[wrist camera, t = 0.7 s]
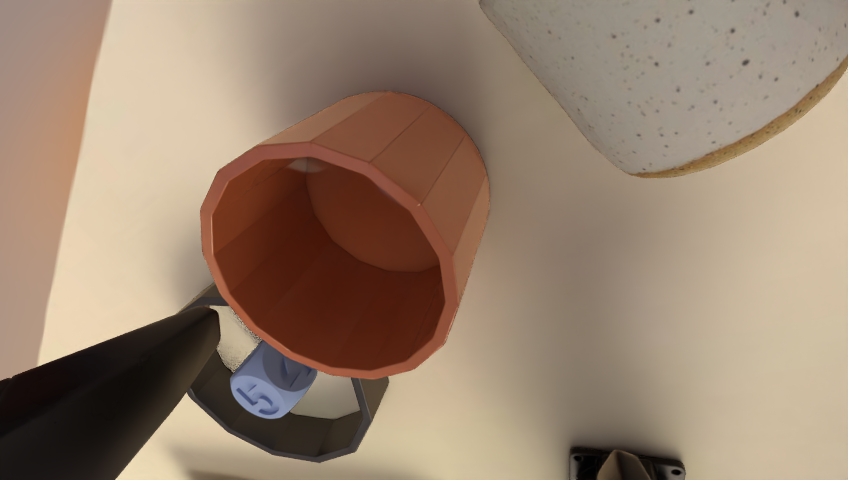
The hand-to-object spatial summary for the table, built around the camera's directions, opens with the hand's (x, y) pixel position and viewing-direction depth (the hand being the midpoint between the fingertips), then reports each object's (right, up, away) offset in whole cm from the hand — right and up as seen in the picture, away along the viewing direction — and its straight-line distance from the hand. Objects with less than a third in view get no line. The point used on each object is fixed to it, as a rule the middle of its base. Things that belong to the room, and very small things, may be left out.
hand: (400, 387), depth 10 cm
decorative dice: (-9, -5, +22) cm, 24 cm away
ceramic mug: (+9, +13, +6) cm, 17 cm away
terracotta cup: (-1, +6, +13) cm, 14 cm away
